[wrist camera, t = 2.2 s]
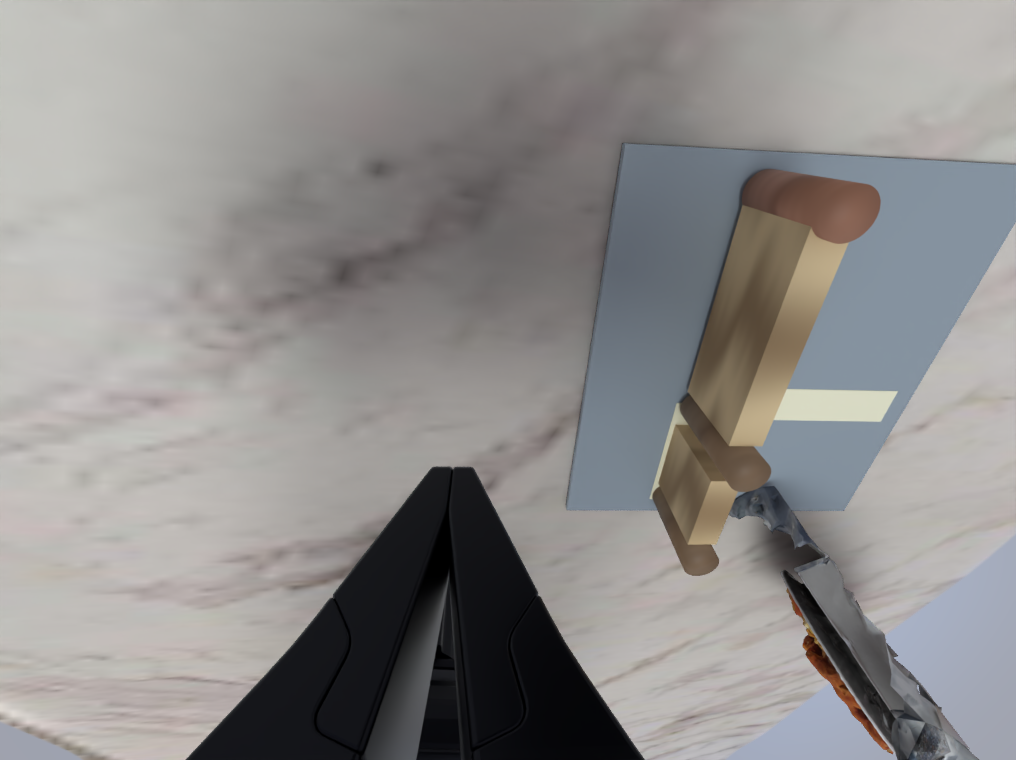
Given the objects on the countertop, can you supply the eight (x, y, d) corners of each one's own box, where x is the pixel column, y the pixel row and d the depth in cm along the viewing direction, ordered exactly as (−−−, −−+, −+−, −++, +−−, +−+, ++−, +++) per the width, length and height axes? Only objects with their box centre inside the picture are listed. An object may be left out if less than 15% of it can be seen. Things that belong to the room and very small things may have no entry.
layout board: (839, 506, 29) (844, 511, 28) (565, 505, 28) (566, 510, 27) (1038, 166, 19) (1049, 166, 18) (622, 143, 18) (625, 143, 17)
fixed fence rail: (677, 504, 28) (713, 575, 23) (649, 504, 27) (679, 575, 23) (704, 424, 24) (751, 489, 20) (672, 424, 24) (712, 489, 20)
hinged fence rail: (708, 420, 24) (763, 492, 19) (676, 419, 24) (722, 491, 19) (793, 169, 18) (901, 186, 13) (749, 167, 18) (844, 183, 13)
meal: (707, 512, 28) (852, 781, 17) (772, 479, 27) (974, 748, 16) (794, 608, 35) (940, 848, 23) (850, 585, 33) (1032, 829, 22)
